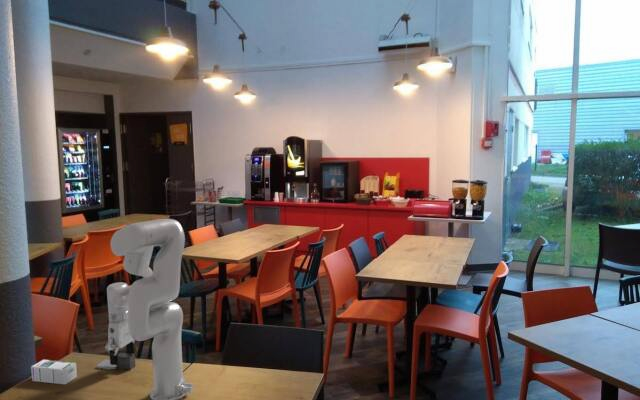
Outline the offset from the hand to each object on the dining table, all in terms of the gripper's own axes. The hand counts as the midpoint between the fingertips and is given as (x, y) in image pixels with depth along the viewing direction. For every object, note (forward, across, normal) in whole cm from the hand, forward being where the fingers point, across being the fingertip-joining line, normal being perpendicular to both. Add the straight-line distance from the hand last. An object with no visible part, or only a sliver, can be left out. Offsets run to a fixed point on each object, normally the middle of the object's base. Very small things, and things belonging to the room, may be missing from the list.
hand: (122, 358), depth 178 cm
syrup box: (+1, -13, +12) cm, 18 cm away
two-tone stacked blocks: (+4, 0, +3) cm, 4 cm away
